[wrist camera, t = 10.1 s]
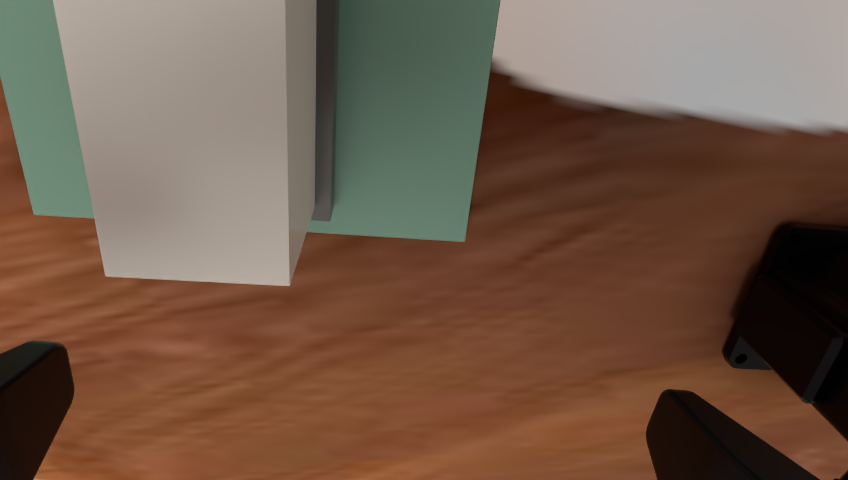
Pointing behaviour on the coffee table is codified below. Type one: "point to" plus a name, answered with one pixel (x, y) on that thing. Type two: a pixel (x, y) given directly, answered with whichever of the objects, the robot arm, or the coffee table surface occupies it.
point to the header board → (335, 113)
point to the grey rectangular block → (195, 133)
